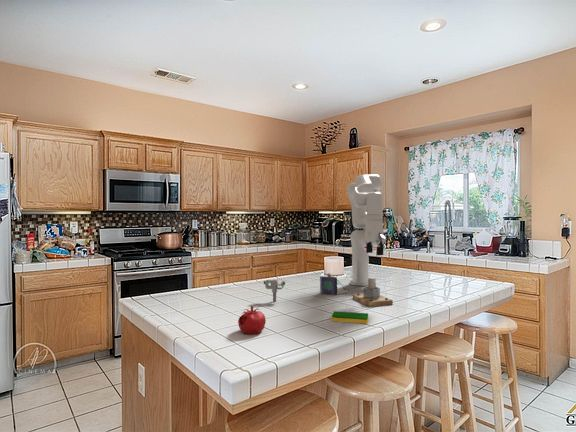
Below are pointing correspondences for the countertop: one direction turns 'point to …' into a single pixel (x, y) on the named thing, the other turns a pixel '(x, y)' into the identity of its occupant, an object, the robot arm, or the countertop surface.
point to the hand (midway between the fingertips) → (374, 253)
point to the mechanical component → (273, 287)
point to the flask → (328, 285)
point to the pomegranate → (252, 321)
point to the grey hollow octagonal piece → (372, 293)
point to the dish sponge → (350, 317)
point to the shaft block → (372, 302)
